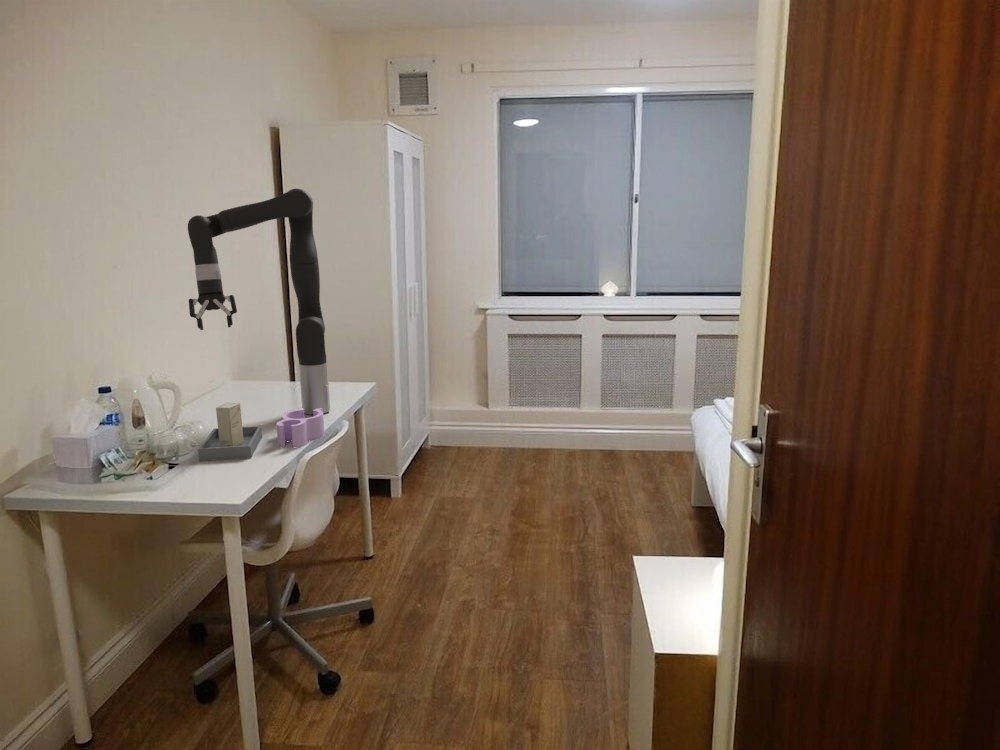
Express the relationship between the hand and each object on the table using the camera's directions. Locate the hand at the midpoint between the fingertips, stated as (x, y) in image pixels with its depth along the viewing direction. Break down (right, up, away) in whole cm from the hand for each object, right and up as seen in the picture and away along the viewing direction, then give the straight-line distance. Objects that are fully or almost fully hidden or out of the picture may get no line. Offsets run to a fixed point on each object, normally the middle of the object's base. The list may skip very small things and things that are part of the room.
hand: (215, 328), depth 236 cm
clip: (+31, -35, -13) cm, 49 cm away
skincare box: (+14, -36, -23) cm, 45 cm away
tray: (+14, -37, -23) cm, 46 cm away
